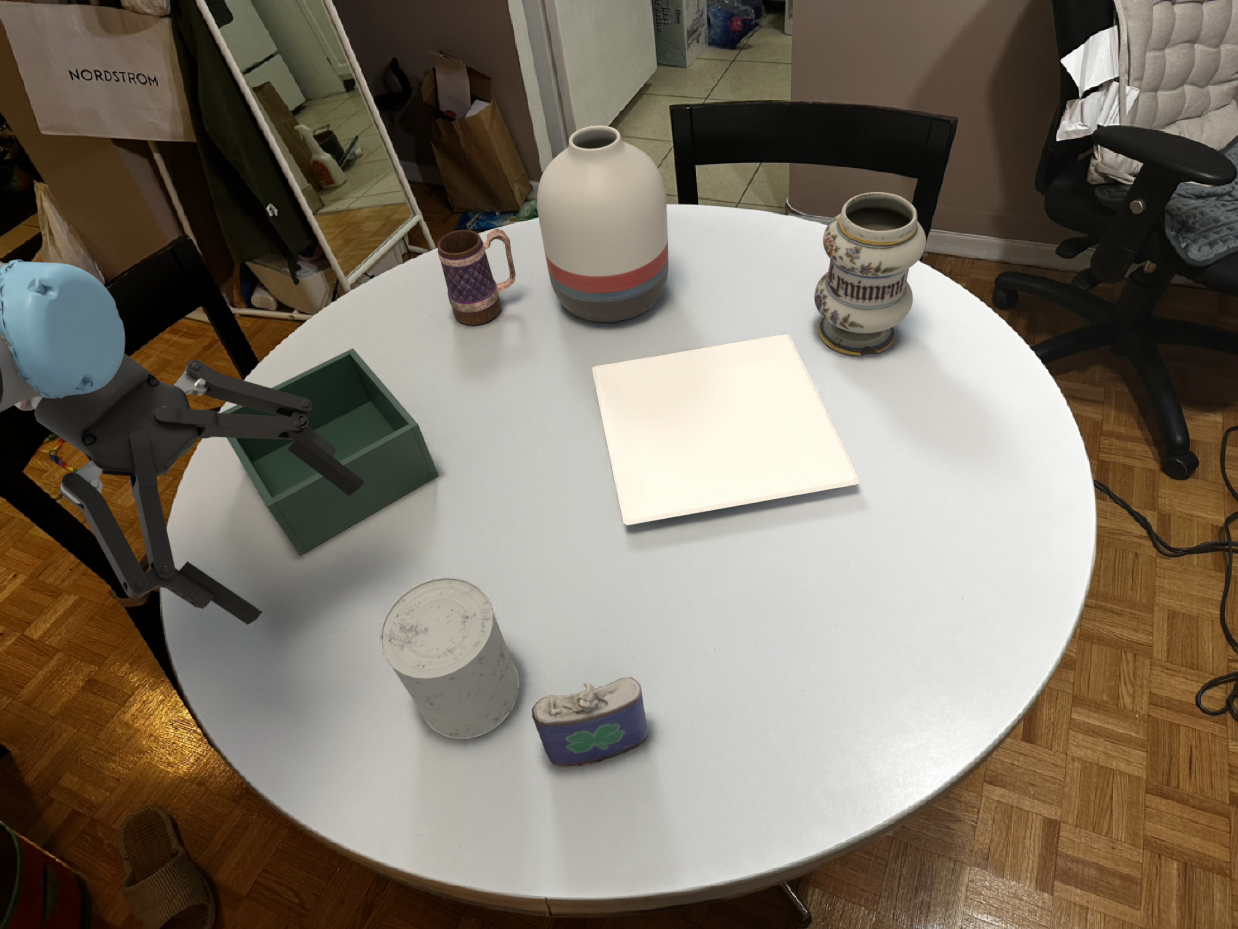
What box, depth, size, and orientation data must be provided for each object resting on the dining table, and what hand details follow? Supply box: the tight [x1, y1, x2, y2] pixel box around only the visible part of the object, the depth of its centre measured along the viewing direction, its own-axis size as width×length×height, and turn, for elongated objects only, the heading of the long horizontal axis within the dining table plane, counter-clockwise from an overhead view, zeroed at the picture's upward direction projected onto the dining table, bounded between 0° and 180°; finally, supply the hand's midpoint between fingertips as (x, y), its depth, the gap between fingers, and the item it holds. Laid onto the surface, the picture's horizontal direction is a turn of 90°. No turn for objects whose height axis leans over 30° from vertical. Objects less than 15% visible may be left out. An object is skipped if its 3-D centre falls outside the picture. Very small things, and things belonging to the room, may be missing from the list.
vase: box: [536, 125, 669, 323], centre depth 104 cm, size 17×17×24 cm
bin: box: [220, 347, 439, 556], centre depth 91 cm, size 18×18×9 cm
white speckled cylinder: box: [379, 576, 520, 740], centre depth 70 cm, size 10×10×12 cm
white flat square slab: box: [591, 333, 861, 526], centre depth 93 cm, size 26×26×2 cm
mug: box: [437, 228, 516, 326], centre depth 109 cm, size 10×7×12 cm
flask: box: [531, 676, 649, 768], centre depth 66 cm, size 9×3×11 cm, turn 103°
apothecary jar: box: [813, 191, 927, 357], centre depth 97 cm, size 12×12×18 cm
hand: (309, 550), depth 64 cm, fingers open, 13 cm apart
